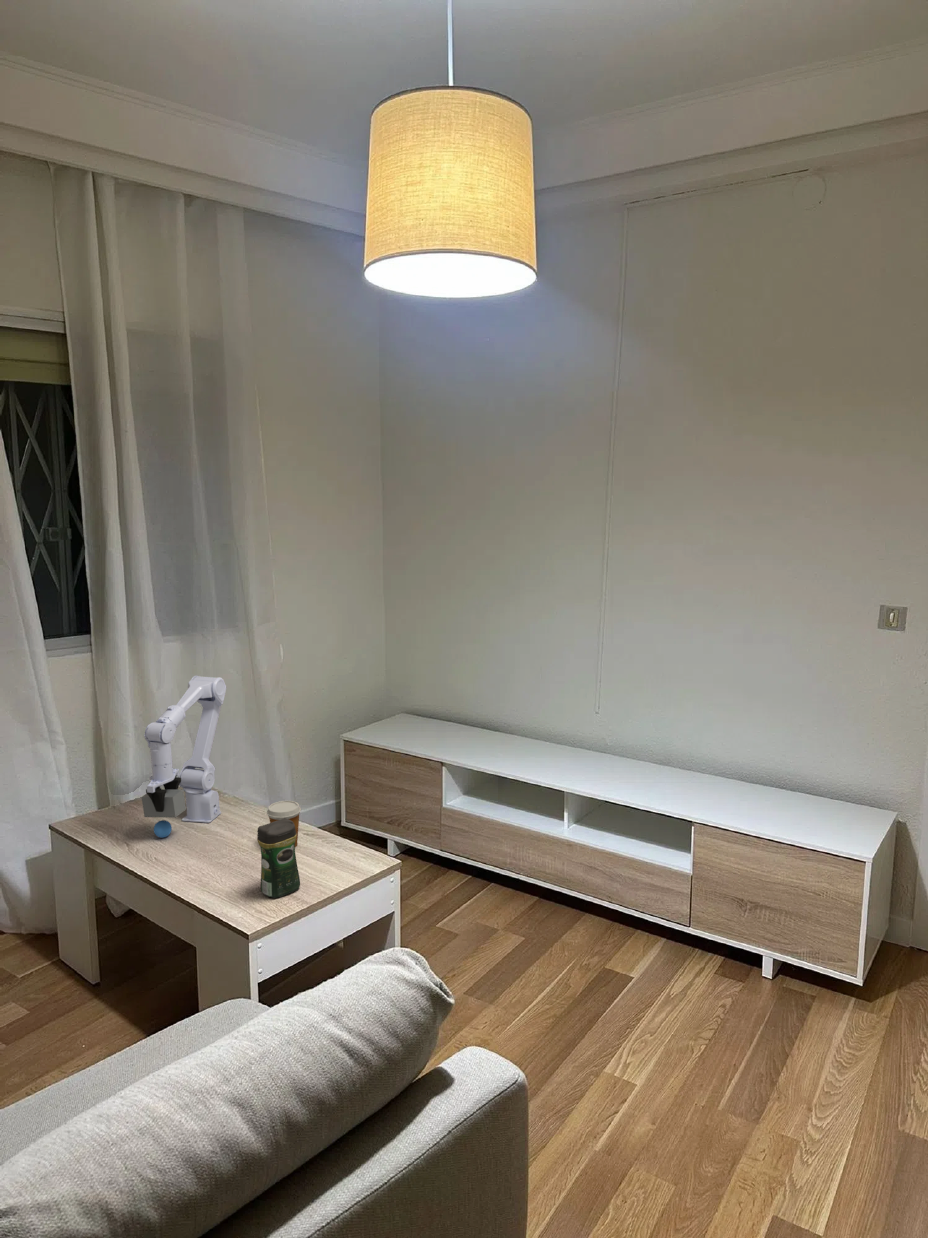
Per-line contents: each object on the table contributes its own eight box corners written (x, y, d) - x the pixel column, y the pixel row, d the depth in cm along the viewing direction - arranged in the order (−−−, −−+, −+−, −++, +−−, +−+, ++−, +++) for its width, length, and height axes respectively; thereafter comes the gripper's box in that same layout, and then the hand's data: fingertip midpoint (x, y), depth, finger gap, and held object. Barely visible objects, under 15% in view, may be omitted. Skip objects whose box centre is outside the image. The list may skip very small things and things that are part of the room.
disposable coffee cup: (299, 853, 251) (296, 813, 248) (265, 853, 251) (262, 813, 249) (305, 838, 260) (303, 799, 258) (273, 839, 260) (270, 800, 258)
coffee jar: (288, 879, 236) (284, 812, 232) (304, 889, 230) (301, 821, 226) (255, 891, 229) (251, 823, 226) (271, 902, 223) (267, 832, 220)
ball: (168, 814, 264) (156, 822, 266) (159, 821, 259) (147, 829, 261) (178, 828, 264) (165, 836, 266) (168, 835, 260) (156, 843, 261)
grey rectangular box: (186, 809, 263) (183, 789, 262) (175, 817, 258) (172, 797, 257) (155, 809, 266) (152, 789, 264) (144, 817, 260) (141, 797, 259)
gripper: (162, 753, 266) (166, 796, 269) (135, 770, 252) (139, 816, 255) (184, 755, 265) (187, 798, 267) (158, 772, 251) (162, 817, 254)
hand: (165, 807), depth 261 cm, fingers closed on grey rectangular box, 6 cm apart
